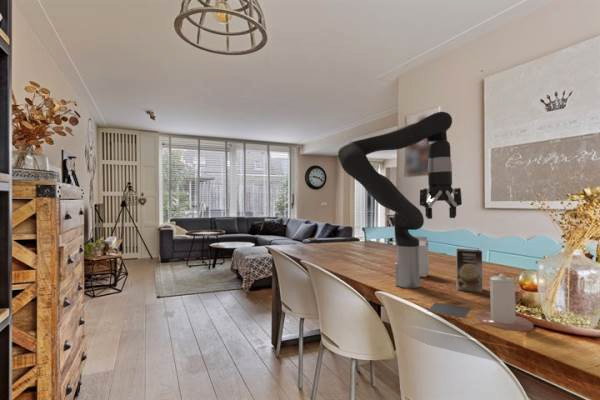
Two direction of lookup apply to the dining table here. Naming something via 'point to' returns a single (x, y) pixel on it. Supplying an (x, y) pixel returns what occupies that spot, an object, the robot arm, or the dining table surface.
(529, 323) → the tea light plate
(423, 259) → the milk carton
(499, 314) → the cover
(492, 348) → the dining table surface
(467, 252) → the coffee box
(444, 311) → the cover mat
